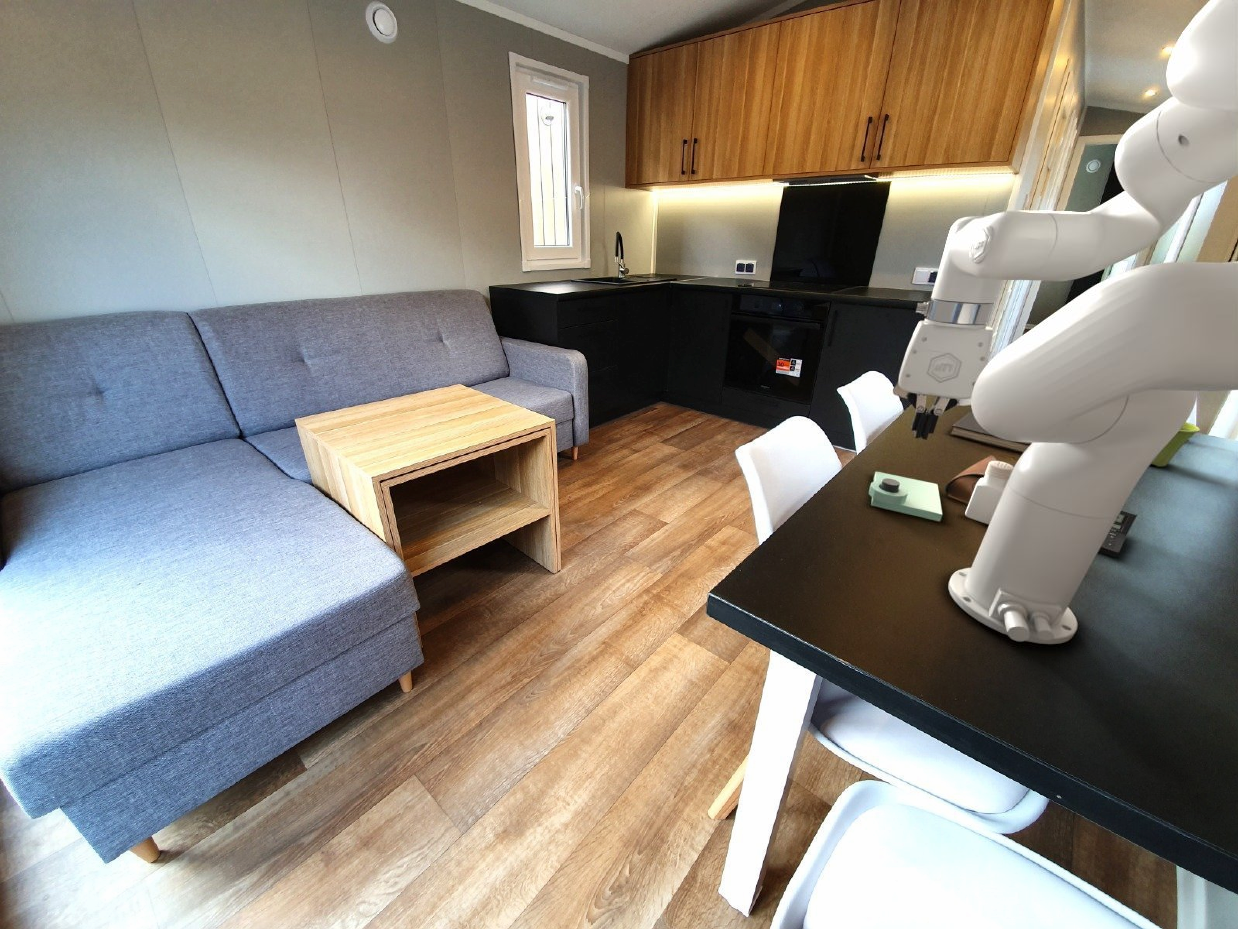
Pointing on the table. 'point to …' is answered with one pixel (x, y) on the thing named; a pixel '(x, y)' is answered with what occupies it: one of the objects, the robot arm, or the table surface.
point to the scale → (907, 497)
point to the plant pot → (1175, 444)
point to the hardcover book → (984, 435)
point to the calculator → (1117, 534)
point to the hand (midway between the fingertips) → (920, 436)
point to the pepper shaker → (989, 492)
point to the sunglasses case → (967, 481)
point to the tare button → (890, 485)
